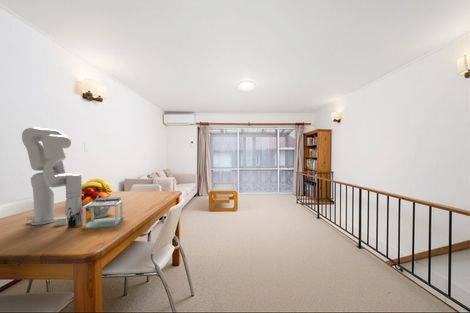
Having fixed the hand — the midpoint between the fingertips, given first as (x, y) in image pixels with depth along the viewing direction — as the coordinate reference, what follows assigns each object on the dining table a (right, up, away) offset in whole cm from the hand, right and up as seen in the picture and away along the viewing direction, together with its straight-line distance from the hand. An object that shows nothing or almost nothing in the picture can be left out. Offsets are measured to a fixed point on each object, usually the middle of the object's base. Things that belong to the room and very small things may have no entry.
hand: (74, 224), depth 123 cm
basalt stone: (0, -1, 0) cm, 1 cm away
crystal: (+3, -1, +19) cm, 20 cm away
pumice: (-10, -1, +3) cm, 10 cm away
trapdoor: (+15, +9, +7) cm, 18 cm away
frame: (+15, -1, +4) cm, 16 cm away
